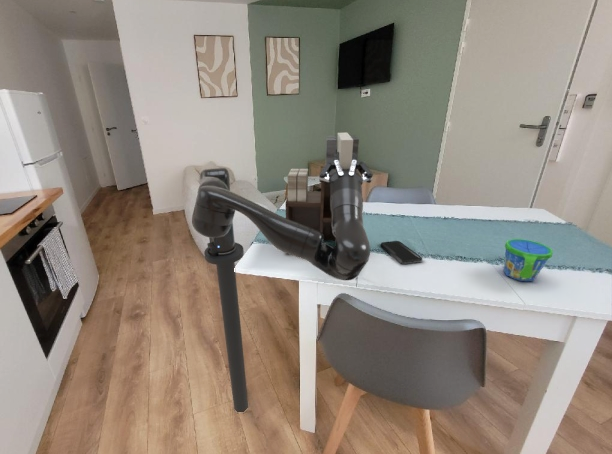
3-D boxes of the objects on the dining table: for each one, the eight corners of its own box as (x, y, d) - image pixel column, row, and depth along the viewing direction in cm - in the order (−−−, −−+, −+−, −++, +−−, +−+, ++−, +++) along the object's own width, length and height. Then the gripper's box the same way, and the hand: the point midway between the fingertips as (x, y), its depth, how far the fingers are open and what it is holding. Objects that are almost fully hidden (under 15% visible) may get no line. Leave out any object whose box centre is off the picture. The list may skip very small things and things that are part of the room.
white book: (350, 175, 76) (353, 139, 73) (338, 175, 77) (341, 140, 73) (345, 161, 94) (347, 132, 91) (336, 161, 95) (337, 132, 91)
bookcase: (352, 257, 104) (363, 139, 88) (286, 254, 108) (284, 141, 92) (349, 241, 116) (358, 134, 101) (290, 238, 121) (289, 136, 105)
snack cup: (541, 294, 81) (554, 262, 77) (494, 281, 87) (504, 251, 83) (541, 270, 91) (552, 241, 87) (499, 260, 98) (508, 233, 94)
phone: (398, 240, 112) (423, 259, 98) (398, 243, 113) (423, 261, 99) (379, 242, 111) (402, 261, 98) (379, 245, 112) (401, 264, 98)
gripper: (316, 209, 74) (318, 164, 85) (374, 210, 72) (368, 164, 82) (316, 188, 68) (319, 143, 79) (379, 189, 66) (373, 142, 76)
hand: (344, 154), depth 80 cm, fingers closed on white book, 3 cm apart
